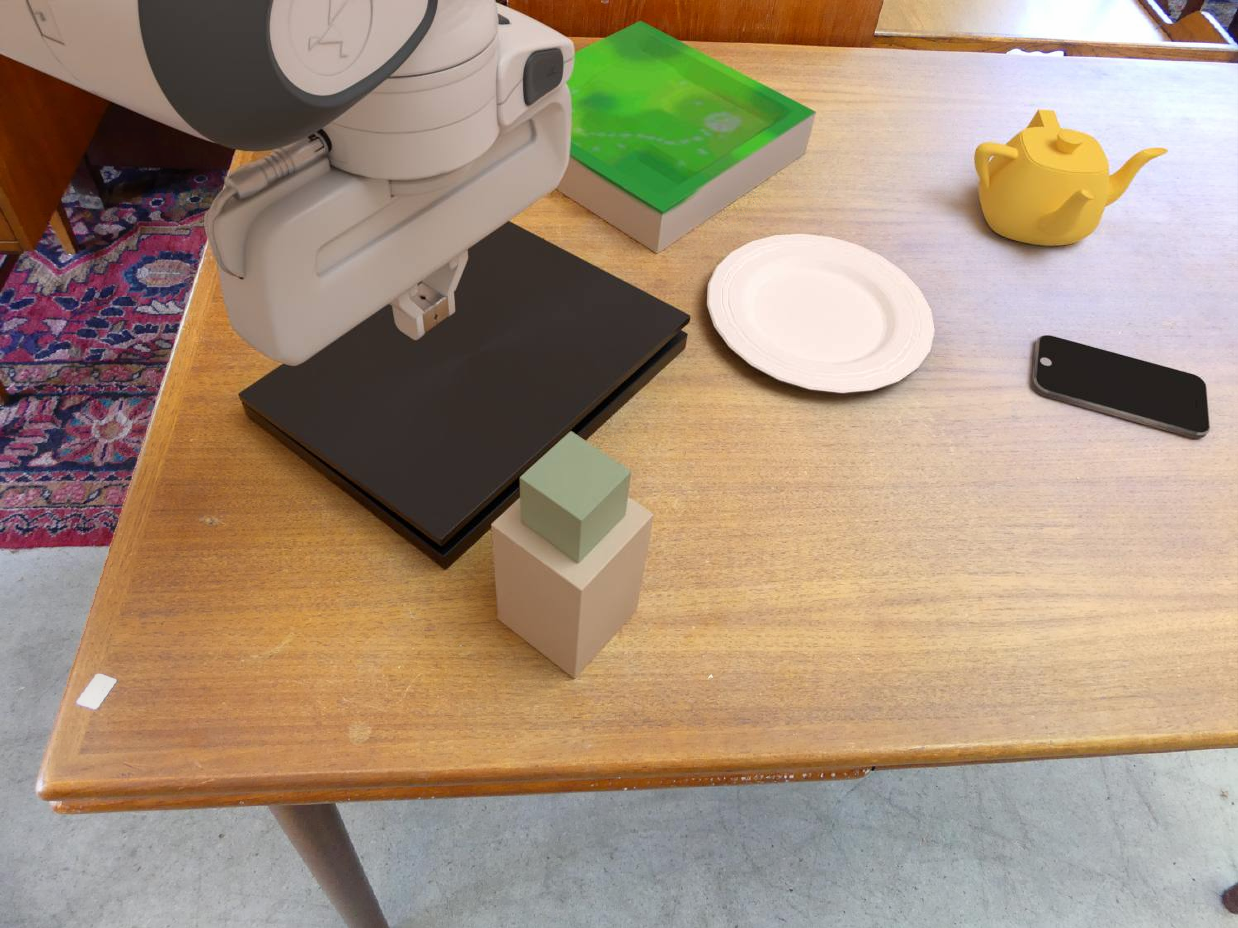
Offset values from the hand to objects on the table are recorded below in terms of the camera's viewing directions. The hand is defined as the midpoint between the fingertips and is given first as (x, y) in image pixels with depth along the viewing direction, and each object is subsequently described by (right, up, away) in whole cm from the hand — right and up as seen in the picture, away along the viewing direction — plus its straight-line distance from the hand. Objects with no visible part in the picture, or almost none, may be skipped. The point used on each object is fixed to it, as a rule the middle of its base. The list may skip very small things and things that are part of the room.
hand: (426, 321), depth 51 cm
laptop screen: (-1, +1, +25) cm, 25 cm away
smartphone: (+55, -1, +32) cm, 64 cm away
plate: (+29, +5, +34) cm, 45 cm away
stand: (+7, -18, +14) cm, 24 cm away
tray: (+14, +26, +49) cm, 57 cm away
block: (+8, -11, +4) cm, 14 cm away
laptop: (-1, -1, +27) cm, 27 cm away
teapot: (+54, +17, +46) cm, 73 cm away
